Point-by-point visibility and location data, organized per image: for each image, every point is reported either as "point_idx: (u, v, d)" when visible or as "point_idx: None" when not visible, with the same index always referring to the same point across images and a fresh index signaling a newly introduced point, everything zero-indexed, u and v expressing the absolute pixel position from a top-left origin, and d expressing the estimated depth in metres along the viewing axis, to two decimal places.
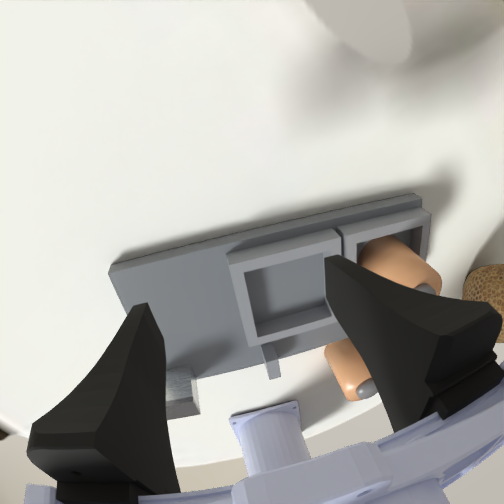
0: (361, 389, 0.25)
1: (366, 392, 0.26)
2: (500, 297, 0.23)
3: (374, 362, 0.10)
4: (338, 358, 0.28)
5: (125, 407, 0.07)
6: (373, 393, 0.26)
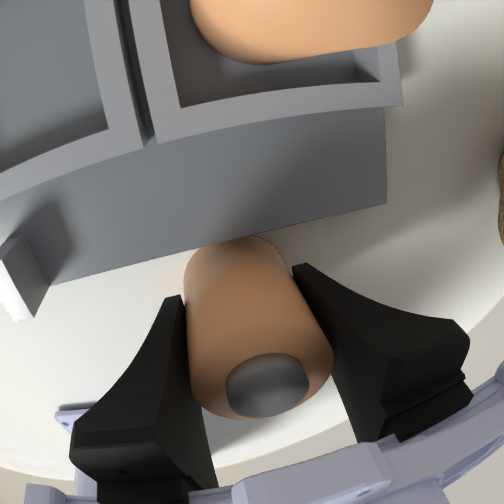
0: (232, 387, 0.08)
1: (257, 399, 0.09)
2: None
3: (338, 375, 0.10)
4: (192, 295, 0.11)
5: (173, 400, 0.07)
6: (286, 404, 0.09)
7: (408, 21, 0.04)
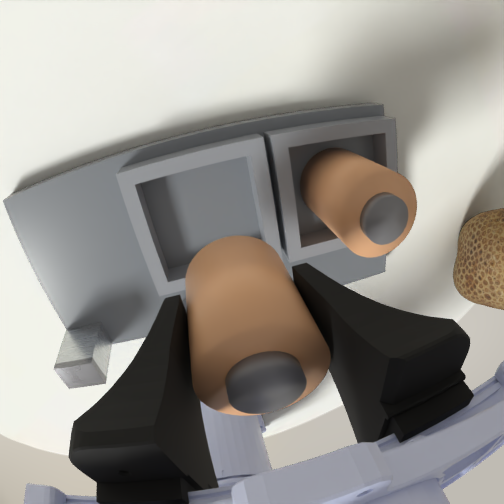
0: (231, 387, 0.09)
1: (256, 396, 0.09)
2: None
3: (338, 375, 0.10)
4: (191, 299, 0.11)
5: (172, 400, 0.07)
6: (286, 399, 0.09)
7: (399, 241, 0.15)
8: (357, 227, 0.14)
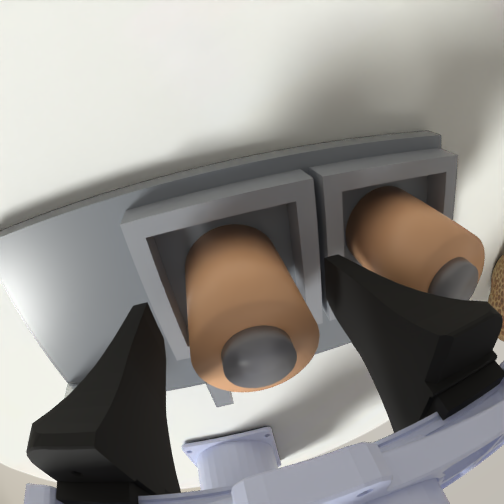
0: (226, 359, 0.10)
1: (250, 369, 0.10)
2: None
3: (374, 362, 0.10)
4: (189, 282, 0.12)
5: (125, 407, 0.07)
6: (278, 373, 0.10)
7: None
8: None
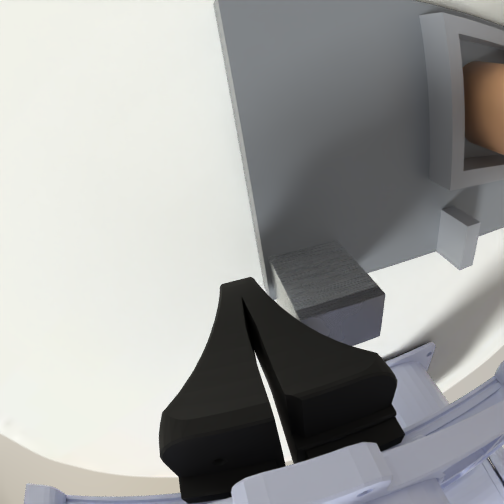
0: None
1: None
2: None
3: (274, 395, 0.10)
4: (495, 79, 0.09)
5: None
6: None
7: None
8: None
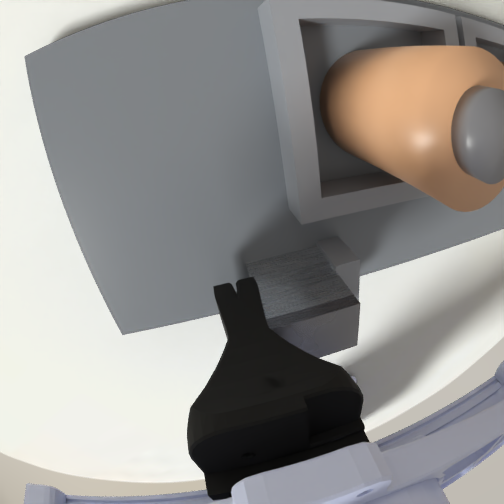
0: (473, 108, 0.05)
1: (489, 140, 0.06)
2: None
3: None
4: (361, 69, 0.08)
5: None
6: None
7: None
8: None
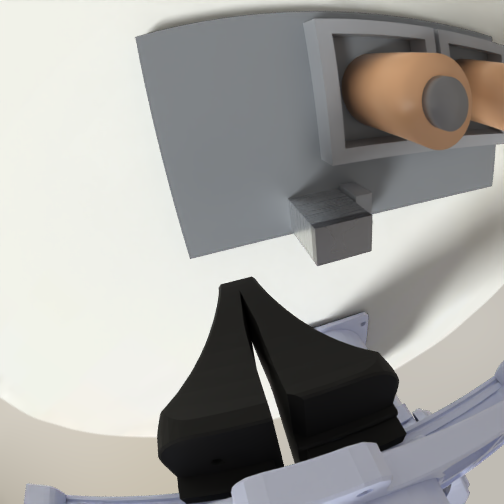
0: (433, 87, 0.10)
1: (445, 105, 0.10)
2: None
3: (275, 395, 0.10)
4: (370, 66, 0.13)
5: None
6: (458, 120, 0.11)
7: None
8: None
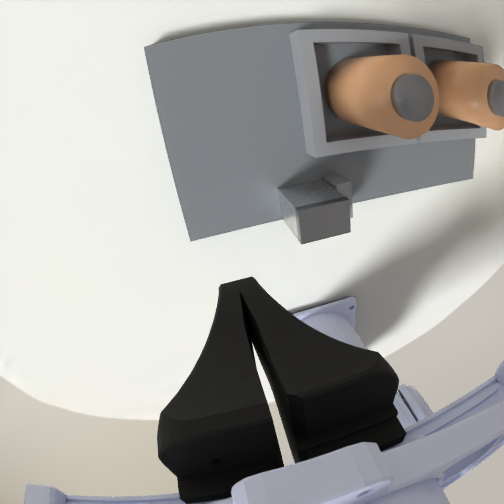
0: (400, 83, 0.12)
1: (411, 98, 0.13)
2: None
3: (275, 395, 0.10)
4: (347, 69, 0.15)
5: None
6: (424, 112, 0.13)
7: None
8: (486, 100, 0.14)
